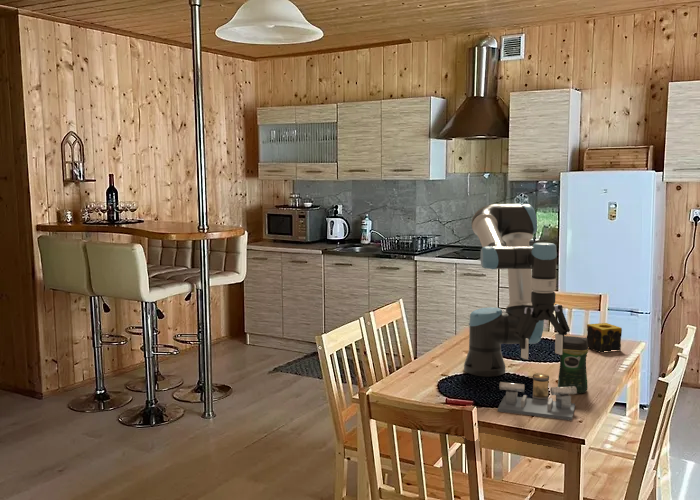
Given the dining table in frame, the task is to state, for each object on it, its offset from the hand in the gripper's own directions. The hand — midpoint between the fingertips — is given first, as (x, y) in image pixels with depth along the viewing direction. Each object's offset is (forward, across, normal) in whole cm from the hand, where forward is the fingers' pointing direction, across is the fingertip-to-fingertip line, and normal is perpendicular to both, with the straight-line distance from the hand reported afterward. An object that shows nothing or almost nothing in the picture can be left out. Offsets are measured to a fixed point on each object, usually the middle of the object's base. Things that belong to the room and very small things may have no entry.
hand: (541, 356), depth 222 cm
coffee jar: (+14, +16, +3) cm, 22 cm away
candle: (+14, +65, +41) cm, 78 cm away
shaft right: (+14, 0, -11) cm, 18 cm away
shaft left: (+14, -12, -1) cm, 19 cm away
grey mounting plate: (+14, -7, -7) cm, 17 cm away
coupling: (+14, 0, 0) cm, 14 cm away
